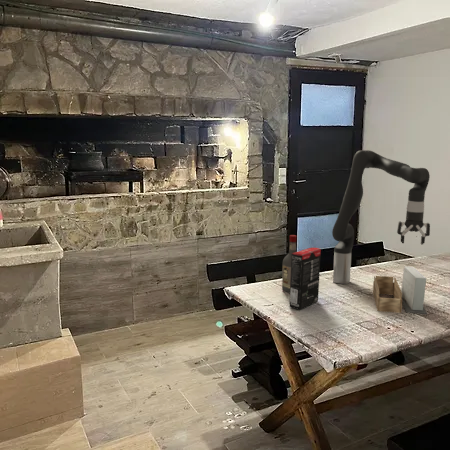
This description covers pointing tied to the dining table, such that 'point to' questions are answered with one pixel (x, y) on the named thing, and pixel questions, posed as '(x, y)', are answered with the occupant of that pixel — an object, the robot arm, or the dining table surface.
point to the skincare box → (413, 287)
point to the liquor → (288, 265)
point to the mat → (409, 310)
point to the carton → (391, 288)
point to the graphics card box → (304, 278)
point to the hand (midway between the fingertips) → (412, 243)
